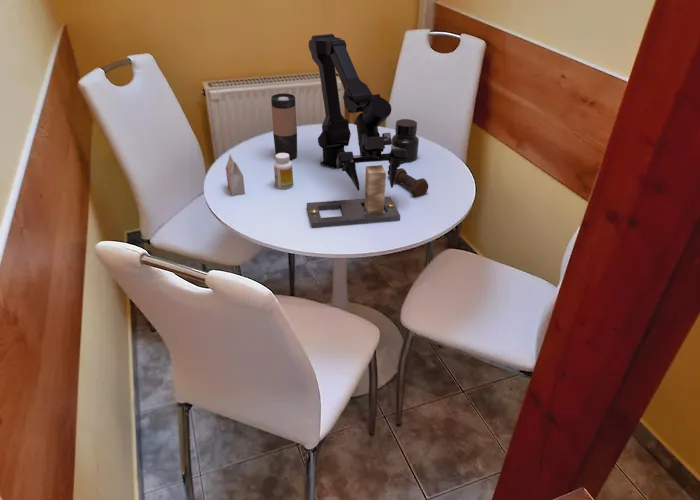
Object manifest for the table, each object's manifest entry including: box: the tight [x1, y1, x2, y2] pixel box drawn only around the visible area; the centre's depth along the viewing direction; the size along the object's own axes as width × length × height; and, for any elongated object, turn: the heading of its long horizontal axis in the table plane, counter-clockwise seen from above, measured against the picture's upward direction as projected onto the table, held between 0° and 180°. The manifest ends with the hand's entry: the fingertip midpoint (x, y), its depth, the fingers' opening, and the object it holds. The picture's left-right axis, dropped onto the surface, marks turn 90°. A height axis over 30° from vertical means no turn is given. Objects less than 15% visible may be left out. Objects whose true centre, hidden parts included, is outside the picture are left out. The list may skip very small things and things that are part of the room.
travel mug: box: [271, 92, 298, 162], centre depth 172 cm, size 8×8×20 cm
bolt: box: [387, 167, 429, 198], centre depth 160 cm, size 6×5×15 cm
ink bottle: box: [390, 118, 420, 163], centre depth 175 cm, size 10×9×12 cm
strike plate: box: [306, 195, 401, 229], centre depth 146 cm, size 24×11×2 cm, turn 101°
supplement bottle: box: [273, 153, 294, 190], centre depth 158 cm, size 5×5×10 cm
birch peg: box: [363, 164, 387, 214], centre depth 144 cm, size 4×4×13 cm
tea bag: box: [225, 154, 246, 197], centre depth 155 cm, size 4×7×10 cm, turn 22°
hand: (375, 188), depth 143 cm, fingers open, 9 cm apart
